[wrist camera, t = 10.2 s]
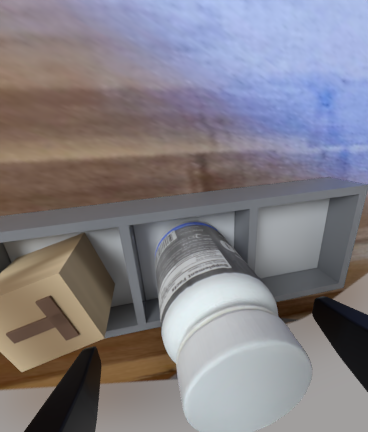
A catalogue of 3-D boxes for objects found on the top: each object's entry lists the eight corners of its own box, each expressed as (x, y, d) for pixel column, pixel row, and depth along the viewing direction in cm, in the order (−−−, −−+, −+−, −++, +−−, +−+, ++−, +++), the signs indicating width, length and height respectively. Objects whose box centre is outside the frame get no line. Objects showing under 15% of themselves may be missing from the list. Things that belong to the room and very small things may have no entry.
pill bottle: (231, 264, 15) (332, 403, 7) (170, 292, 14) (203, 466, 7) (211, 206, 13) (317, 304, 5) (141, 236, 13) (139, 388, 5)
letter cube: (84, 232, 12) (57, 274, 8) (115, 283, 13) (104, 339, 10) (16, 257, 12) (-44, 313, 8) (55, 307, 13) (20, 374, 9)
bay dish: (329, 177, 15) (368, 184, 12) (313, 266, 17) (343, 287, 15) (-7, 217, 12) (-50, 238, 9) (37, 318, 14) (13, 357, 12)
